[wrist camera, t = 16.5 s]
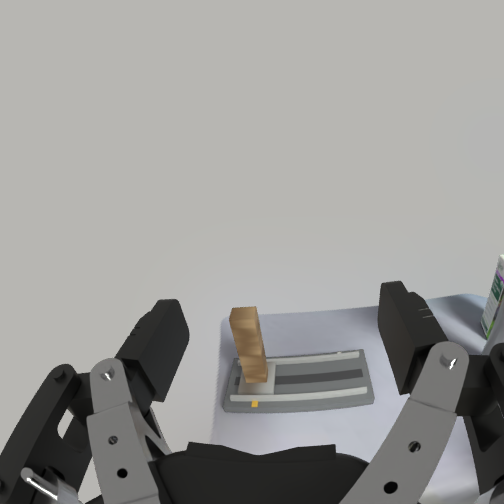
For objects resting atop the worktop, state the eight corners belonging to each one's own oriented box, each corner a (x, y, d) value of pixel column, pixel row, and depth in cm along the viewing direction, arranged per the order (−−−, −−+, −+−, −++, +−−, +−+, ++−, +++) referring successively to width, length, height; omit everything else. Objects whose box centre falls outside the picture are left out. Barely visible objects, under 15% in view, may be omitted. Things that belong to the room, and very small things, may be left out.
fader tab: (276, 364, 41) (265, 297, 36) (273, 395, 35) (261, 328, 30) (244, 365, 42) (227, 300, 36) (238, 395, 36) (217, 329, 31)
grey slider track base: (362, 355, 41) (363, 345, 40) (373, 403, 32) (375, 394, 31) (235, 364, 45) (233, 355, 44) (225, 412, 36) (221, 403, 35)
